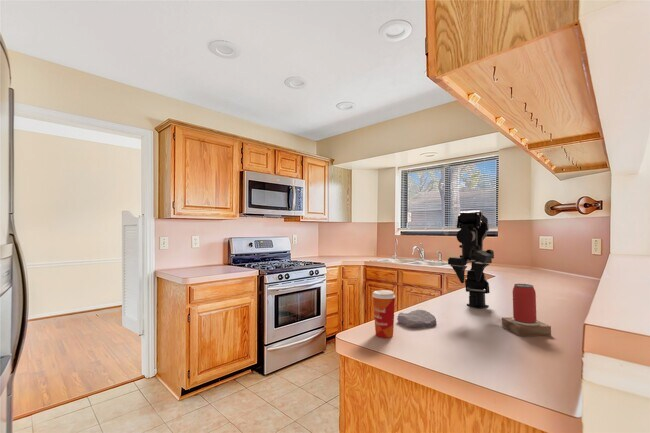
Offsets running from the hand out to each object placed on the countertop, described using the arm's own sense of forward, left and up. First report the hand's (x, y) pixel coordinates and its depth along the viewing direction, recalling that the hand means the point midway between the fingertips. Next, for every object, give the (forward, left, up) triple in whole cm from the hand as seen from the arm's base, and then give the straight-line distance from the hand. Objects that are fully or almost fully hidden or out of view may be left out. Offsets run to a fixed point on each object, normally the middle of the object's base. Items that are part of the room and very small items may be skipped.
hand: (470, 282), depth 124 cm
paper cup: (+44, +2, -13) cm, 46 cm away
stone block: (+26, -2, -14) cm, 30 cm away
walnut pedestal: (0, +21, -13) cm, 25 cm away
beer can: (0, +21, -10) cm, 23 cm away
